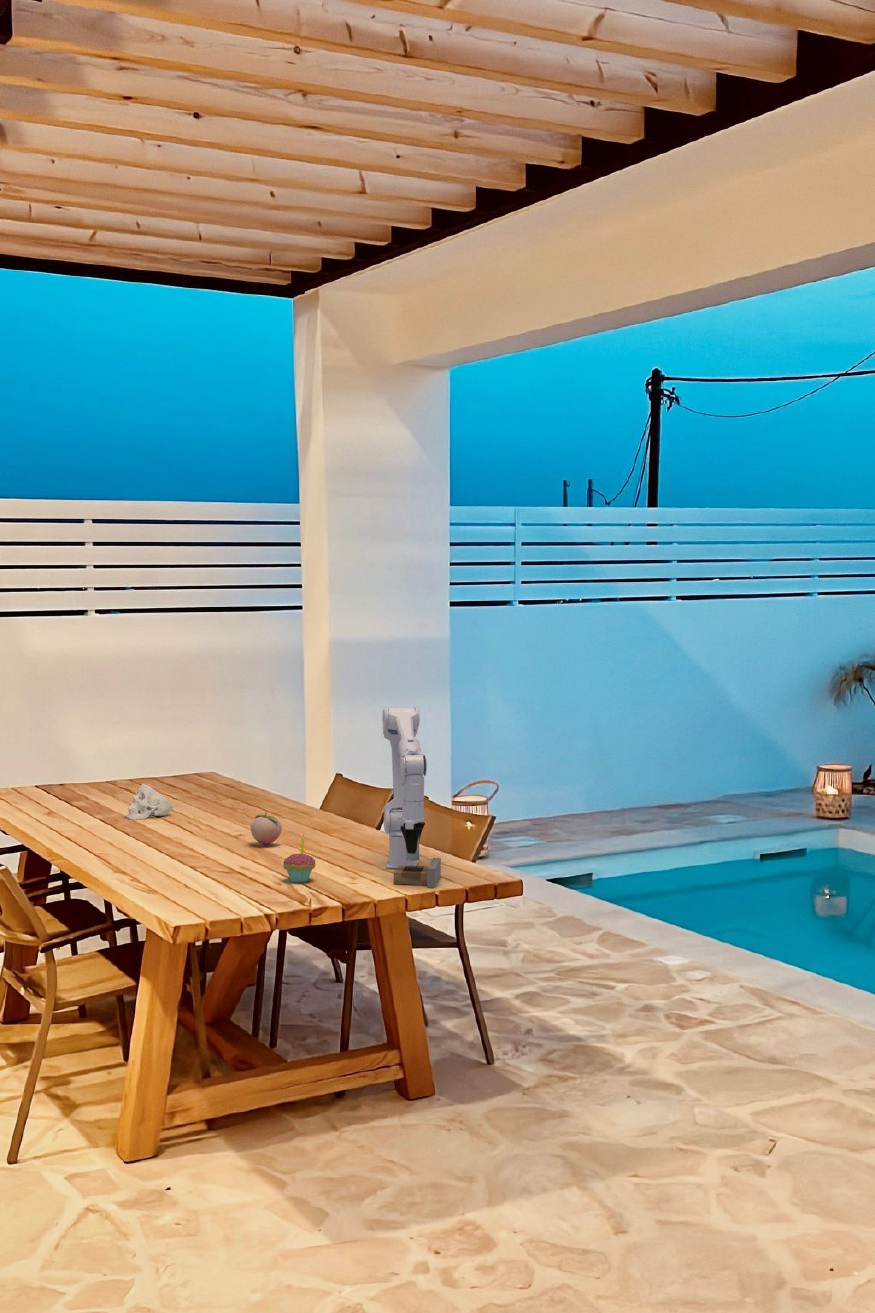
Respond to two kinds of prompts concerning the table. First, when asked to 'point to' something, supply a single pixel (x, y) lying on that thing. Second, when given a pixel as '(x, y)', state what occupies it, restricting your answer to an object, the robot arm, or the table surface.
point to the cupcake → (299, 866)
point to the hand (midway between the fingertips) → (412, 851)
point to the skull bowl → (148, 804)
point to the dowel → (413, 856)
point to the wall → (433, 872)
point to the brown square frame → (410, 875)
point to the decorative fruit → (265, 829)
